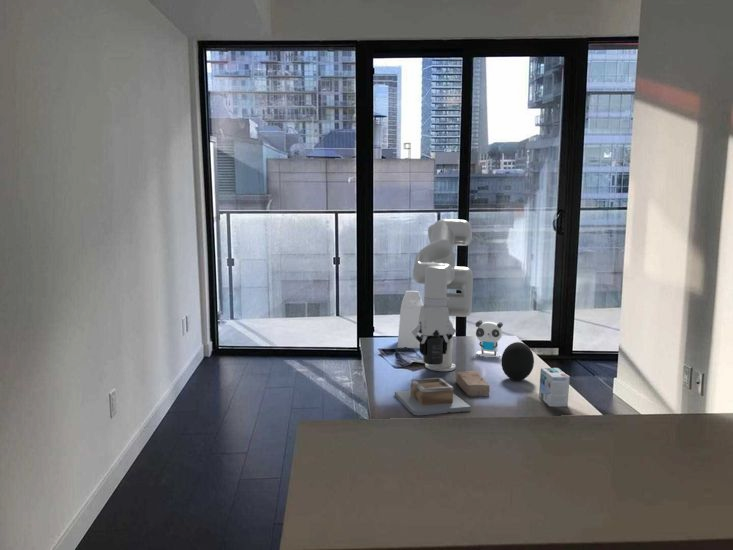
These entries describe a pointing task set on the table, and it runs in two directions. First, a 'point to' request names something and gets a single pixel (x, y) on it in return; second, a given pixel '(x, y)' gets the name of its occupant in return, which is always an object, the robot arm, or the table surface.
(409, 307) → the milk
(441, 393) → the plinth
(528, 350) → the decorative egg
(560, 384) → the light bulb box
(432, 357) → the supplement bottle
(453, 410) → the baseplate
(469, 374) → the brick
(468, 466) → the table surface
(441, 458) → the table surface
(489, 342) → the panda figurine
